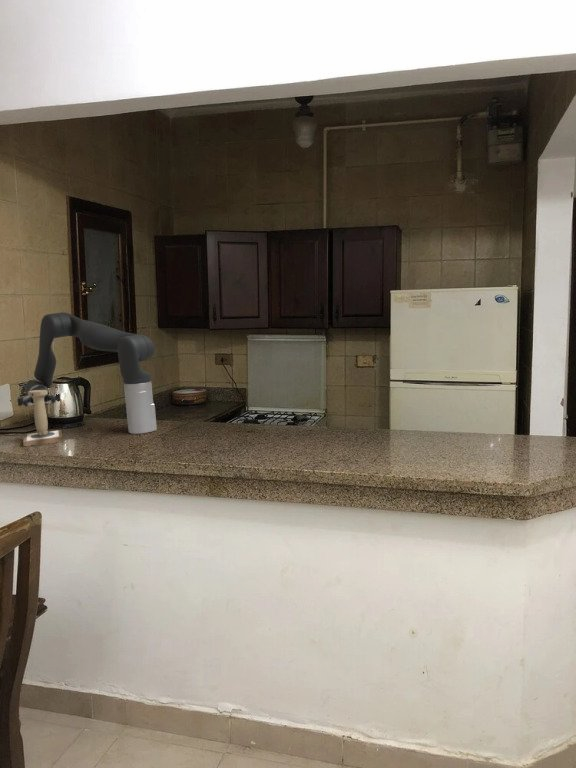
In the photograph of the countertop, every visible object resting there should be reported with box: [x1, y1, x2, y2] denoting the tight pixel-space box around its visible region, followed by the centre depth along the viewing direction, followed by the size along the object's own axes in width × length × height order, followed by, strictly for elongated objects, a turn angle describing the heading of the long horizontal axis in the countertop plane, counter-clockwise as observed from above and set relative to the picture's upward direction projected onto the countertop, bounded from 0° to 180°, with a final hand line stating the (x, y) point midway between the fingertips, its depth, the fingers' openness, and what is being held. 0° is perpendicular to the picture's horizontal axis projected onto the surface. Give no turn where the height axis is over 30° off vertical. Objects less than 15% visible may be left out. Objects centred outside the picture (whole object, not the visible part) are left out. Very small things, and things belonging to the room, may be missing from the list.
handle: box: [28, 390, 49, 436], centre depth 200 cm, size 5×6×15 cm
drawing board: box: [22, 429, 64, 447], centre depth 201 cm, size 12×12×2 cm
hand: (39, 402), depth 209 cm, fingers open, 8 cm apart
